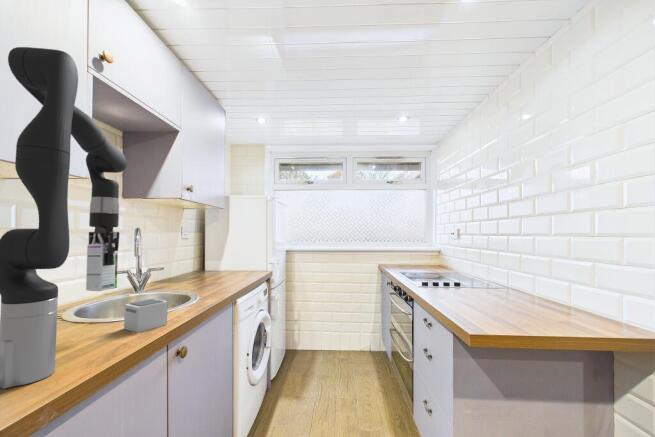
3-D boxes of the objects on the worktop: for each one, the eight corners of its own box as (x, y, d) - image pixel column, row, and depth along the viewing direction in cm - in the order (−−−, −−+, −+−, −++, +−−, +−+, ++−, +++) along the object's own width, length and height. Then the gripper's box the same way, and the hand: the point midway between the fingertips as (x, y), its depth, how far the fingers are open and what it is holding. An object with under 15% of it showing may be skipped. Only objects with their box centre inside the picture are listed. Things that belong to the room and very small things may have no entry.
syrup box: (100, 291, 93) (102, 243, 93) (84, 290, 94) (87, 243, 95) (117, 288, 98) (119, 243, 99) (102, 287, 99) (103, 243, 100)
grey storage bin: (137, 332, 98) (137, 306, 98) (123, 328, 102) (124, 303, 102) (167, 324, 107) (168, 300, 107) (154, 320, 111) (154, 297, 111)
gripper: (79, 212, 98) (77, 264, 97) (103, 210, 91) (100, 266, 90) (106, 213, 104) (103, 262, 103) (129, 212, 97) (127, 264, 96)
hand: (102, 264), depth 96 cm, fingers closed on syrup box, 6 cm apart
